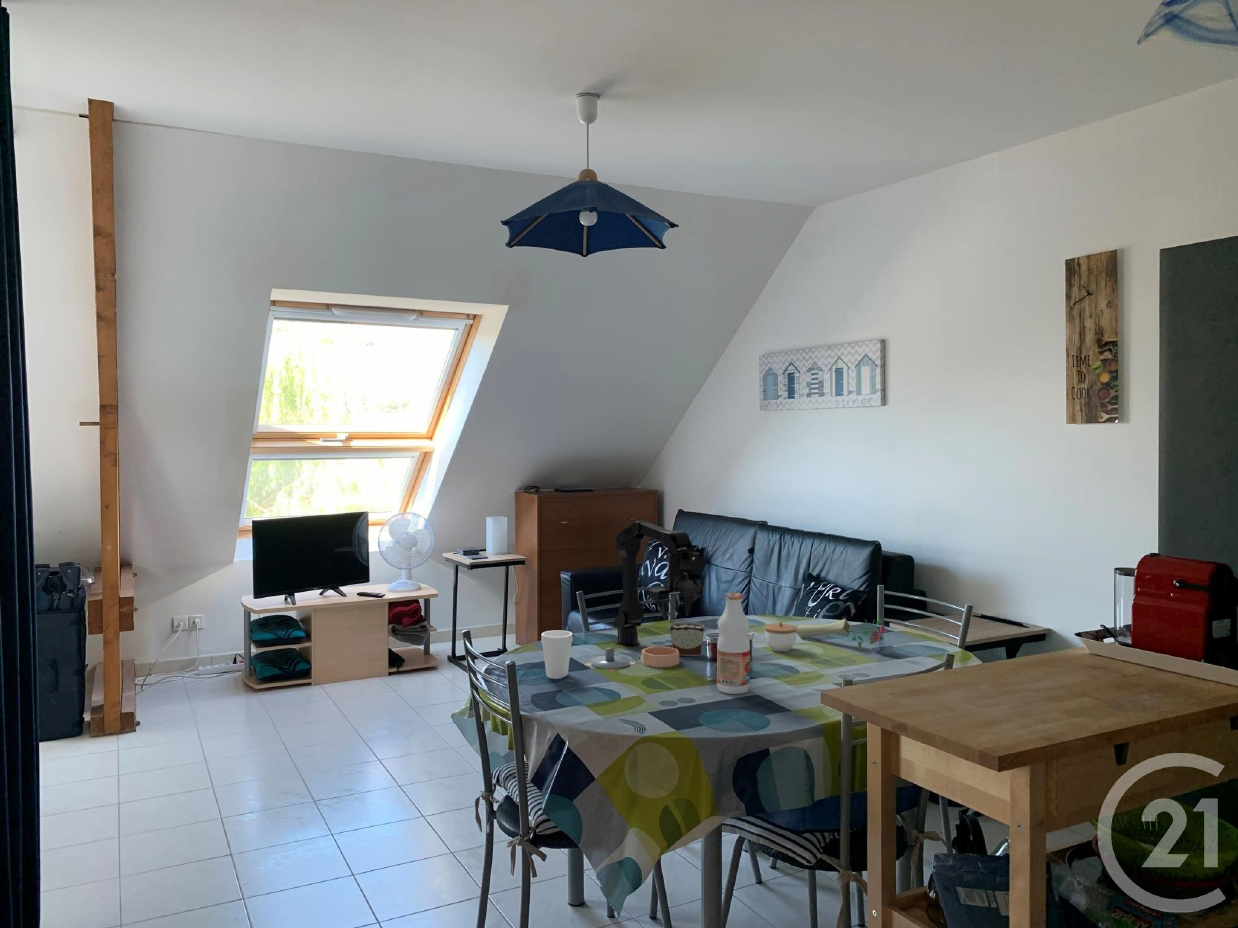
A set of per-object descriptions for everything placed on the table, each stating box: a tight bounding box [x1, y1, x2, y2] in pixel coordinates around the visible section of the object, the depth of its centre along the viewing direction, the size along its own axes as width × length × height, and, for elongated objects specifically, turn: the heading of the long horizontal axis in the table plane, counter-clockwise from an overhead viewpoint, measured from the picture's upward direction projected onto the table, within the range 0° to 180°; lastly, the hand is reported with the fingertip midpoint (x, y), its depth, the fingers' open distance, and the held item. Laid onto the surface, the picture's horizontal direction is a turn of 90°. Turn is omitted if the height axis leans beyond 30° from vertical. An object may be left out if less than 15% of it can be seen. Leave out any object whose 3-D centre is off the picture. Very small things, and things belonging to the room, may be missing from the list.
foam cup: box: [540, 629, 574, 680], centre depth 283 cm, size 10×9×13 cm
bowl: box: [641, 645, 680, 668], centre depth 297 cm, size 12×12×4 cm
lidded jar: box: [764, 621, 798, 653], centre depth 315 cm, size 11×11×9 cm
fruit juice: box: [716, 592, 751, 695], centre depth 268 cm, size 9×9×28 cm
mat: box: [583, 661, 637, 672], centre depth 296 cm, size 12×12×1 cm
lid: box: [590, 646, 630, 670], centre depth 295 cm, size 12×12×5 cm
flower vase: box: [796, 618, 887, 652], centre depth 320 cm, size 12×12×35 cm
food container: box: [668, 621, 707, 657], centre depth 310 cm, size 12×6×10 cm, turn 84°
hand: (676, 617), depth 302 cm, fingers open, 9 cm apart
